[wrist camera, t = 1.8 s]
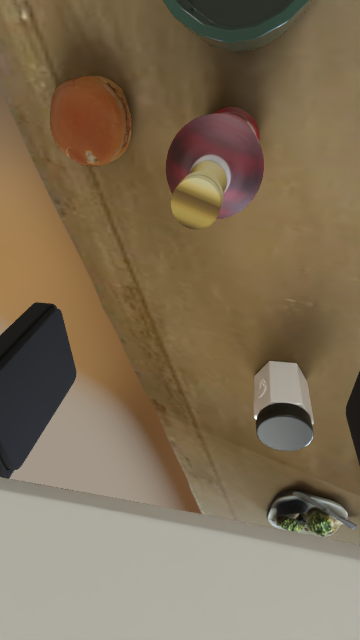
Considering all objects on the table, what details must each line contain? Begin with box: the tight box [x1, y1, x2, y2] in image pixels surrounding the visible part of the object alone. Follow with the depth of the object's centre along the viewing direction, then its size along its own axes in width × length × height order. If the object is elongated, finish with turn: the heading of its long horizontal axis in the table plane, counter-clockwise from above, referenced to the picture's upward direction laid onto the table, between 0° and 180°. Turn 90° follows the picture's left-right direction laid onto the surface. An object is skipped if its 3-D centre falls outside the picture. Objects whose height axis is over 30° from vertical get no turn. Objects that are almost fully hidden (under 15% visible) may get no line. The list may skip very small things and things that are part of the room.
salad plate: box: [267, 491, 357, 537], centre depth 79 cm, size 19×18×5 cm
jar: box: [254, 361, 314, 451], centre depth 55 cm, size 9×8×12 cm
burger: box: [50, 75, 132, 166], centre depth 40 cm, size 10×9×5 cm
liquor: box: [166, 107, 264, 229], centre depth 29 cm, size 7×7×28 cm
